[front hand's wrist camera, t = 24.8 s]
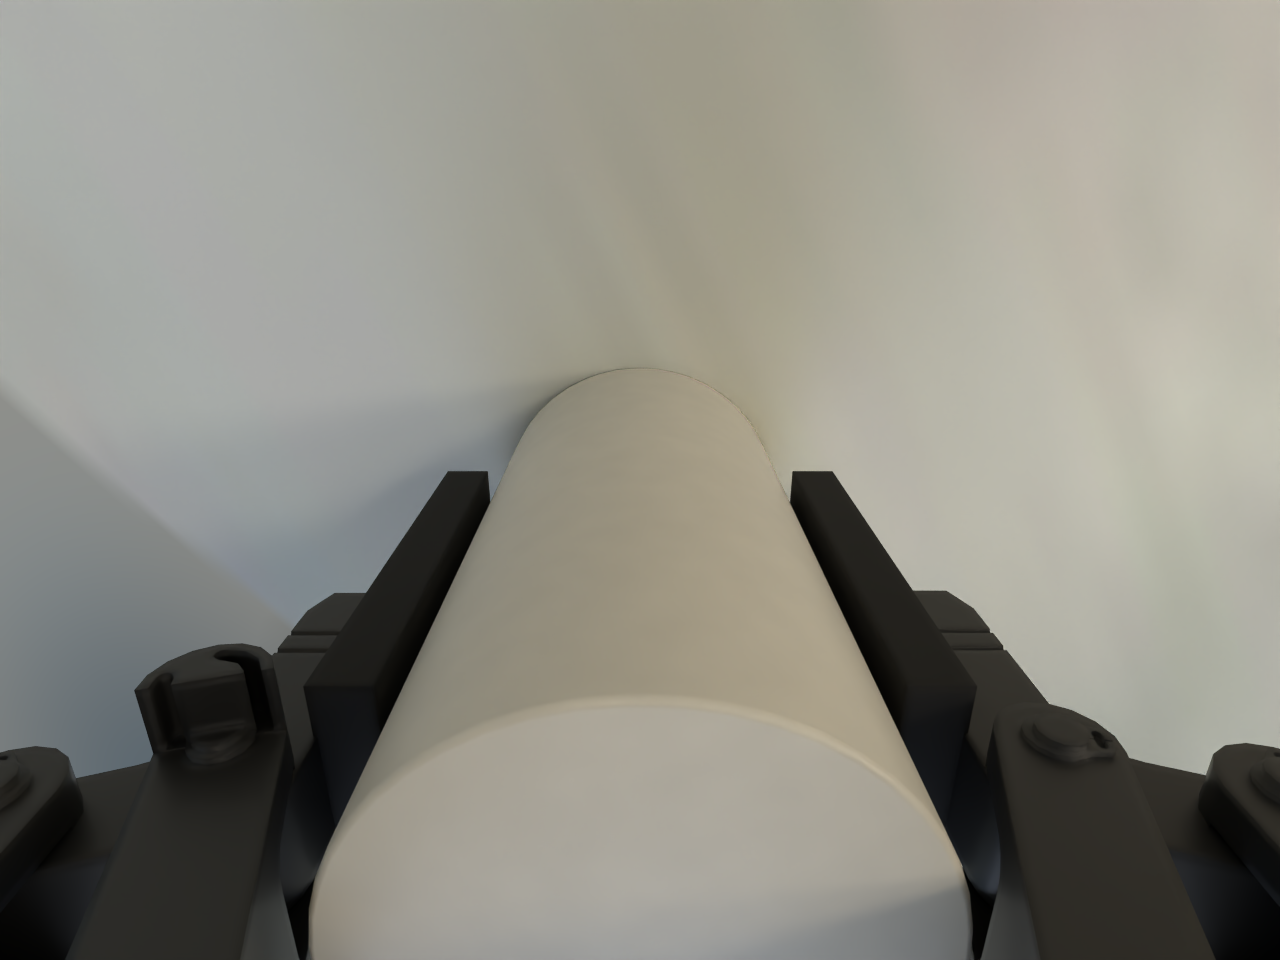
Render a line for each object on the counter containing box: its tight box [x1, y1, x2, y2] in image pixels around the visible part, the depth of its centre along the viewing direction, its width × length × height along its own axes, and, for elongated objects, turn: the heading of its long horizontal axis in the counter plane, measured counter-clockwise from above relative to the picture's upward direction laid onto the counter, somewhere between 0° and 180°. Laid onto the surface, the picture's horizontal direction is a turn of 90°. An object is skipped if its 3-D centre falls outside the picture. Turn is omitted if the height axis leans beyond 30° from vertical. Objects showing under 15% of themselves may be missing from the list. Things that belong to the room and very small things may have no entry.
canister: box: [309, 368, 973, 960], centre depth 11 cm, size 6×6×11 cm
